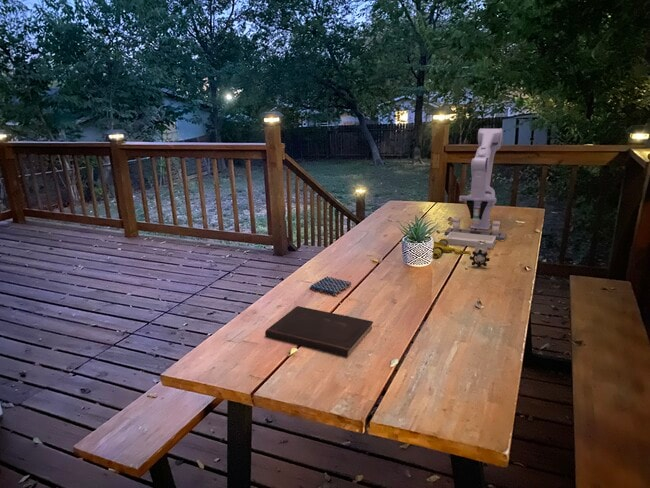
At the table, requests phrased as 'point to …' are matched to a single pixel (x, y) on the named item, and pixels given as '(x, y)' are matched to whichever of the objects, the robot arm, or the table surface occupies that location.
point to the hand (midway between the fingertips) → (476, 218)
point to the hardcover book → (320, 330)
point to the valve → (480, 254)
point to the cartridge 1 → (456, 224)
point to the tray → (469, 239)
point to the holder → (500, 237)
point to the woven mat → (330, 286)
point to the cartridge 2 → (495, 228)
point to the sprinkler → (445, 248)
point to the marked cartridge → (476, 216)
